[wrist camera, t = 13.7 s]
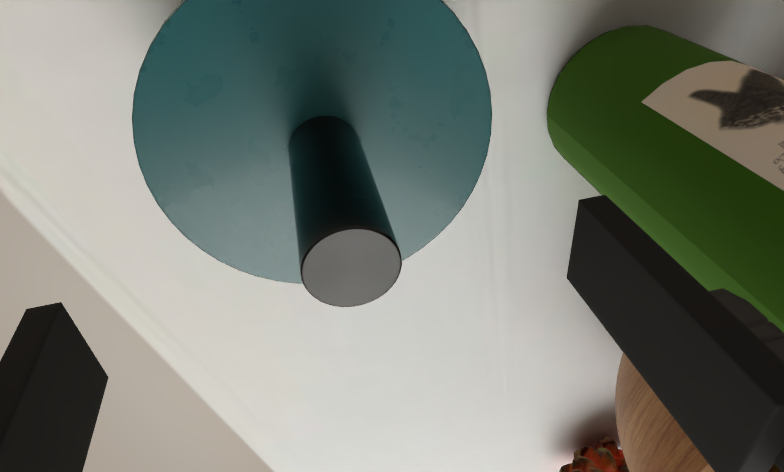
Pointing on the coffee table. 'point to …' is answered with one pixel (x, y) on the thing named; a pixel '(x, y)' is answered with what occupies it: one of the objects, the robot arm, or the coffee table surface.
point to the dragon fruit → (598, 459)
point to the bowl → (652, 429)
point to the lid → (312, 134)
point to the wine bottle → (683, 153)
